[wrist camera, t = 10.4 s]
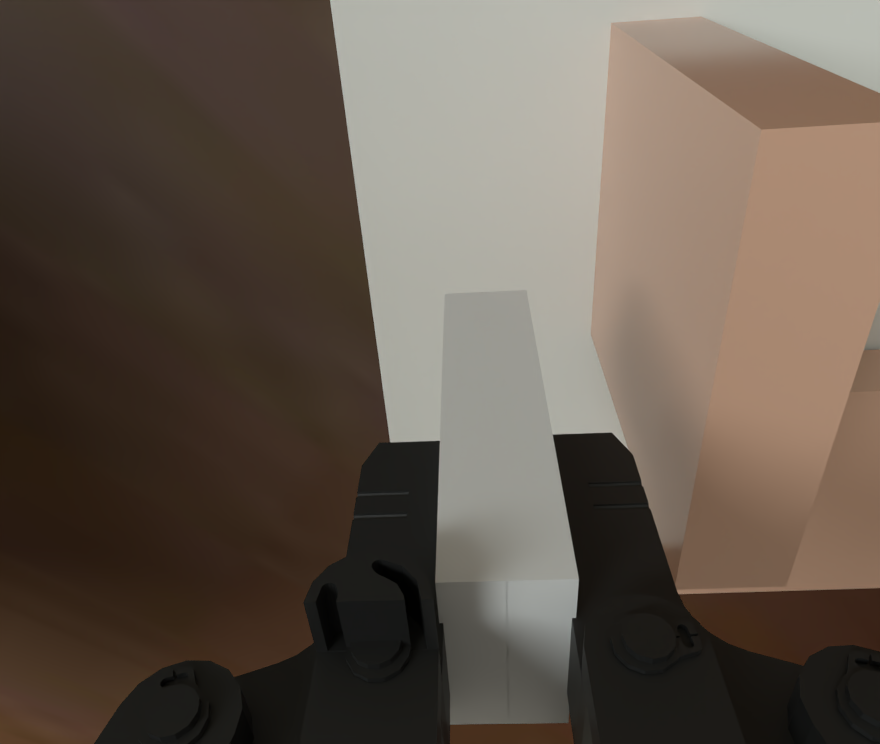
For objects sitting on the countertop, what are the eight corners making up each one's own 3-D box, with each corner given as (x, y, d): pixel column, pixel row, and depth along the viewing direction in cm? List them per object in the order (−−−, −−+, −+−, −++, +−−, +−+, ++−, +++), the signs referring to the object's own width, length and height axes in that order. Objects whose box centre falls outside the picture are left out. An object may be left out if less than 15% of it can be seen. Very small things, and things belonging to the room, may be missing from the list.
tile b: (590, 334, 22) (674, 590, 14) (610, 22, 17) (760, 129, 9) (665, 330, 22) (794, 585, 14) (707, 15, 17) (951, 117, 9)
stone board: (406, 532, 29) (405, 554, 28) (336, -8, 18) (329, -3, 17) (998, 511, 28) (1018, 533, 27) (1315, -80, 17) (1370, -79, 16)
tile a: (648, 594, 26) (926, 586, 25) (679, 399, 21) (1027, 384, 20) (634, 546, 28) (892, 537, 27) (660, 357, 23) (976, 342, 22)
